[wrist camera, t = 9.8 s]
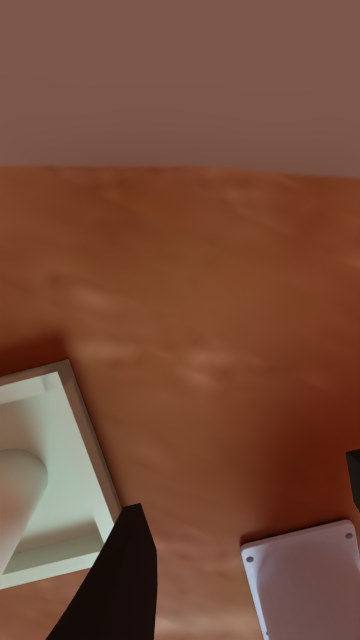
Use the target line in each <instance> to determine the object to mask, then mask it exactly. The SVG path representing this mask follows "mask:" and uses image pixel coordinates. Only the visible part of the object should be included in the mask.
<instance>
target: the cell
mask: <svg viewBox="0 0 360 640" xmlns="http://www.w3.org/2000/svg"><path fill="white" fill-rule="evenodd" d="M47 485H48V472H47V469H46V467H45V465H44V464H43V462H42V461H41V460H40V459H39V458H38V457H36V456H35V455H33V454H32V453H30V452H27V451H24V450H20V449H7V450H3V451H0V578H1V576H2V574H3V572H4V570H5V568H6V566H7V564H8V562H9V560H10V558H11V556H12V554H13V553H14V551H15V549H16V547H17V545H18V543H19V541H20V539H21V537H22V535H23V533H24V531H25V529H26V527H27V525H28V523H29V521H30V519H31V517H32V515H33V513H34V512H35V510H36V508H37V506H38V504H39V502H40V500H41V498H42V496H43V494H44V492H45V490H46V488H47Z"/></svg>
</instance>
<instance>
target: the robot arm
mask: <svg viewBox="0 0 360 640" xmlns="http://www.w3.org/2000/svg"><path fill="white" fill-rule="evenodd" d="M346 457H347V463H348V469H349V475H350V481H351V487H352V493H353V499H354V503H355V505H356V507H357V508H358V510H359V512H360V449H358V450H354V451H350V452H346ZM347 533H348V534H347ZM240 551H241V556H242V559H243V563H244V567H245V570H246V574H247V578H248V582H249V585H250V589H251V593H252V597H253V600H254V604H255V608H256V611H257V615H258V619H259V623H260V626H261V630H262V634H263V637H264V640H360V556H359V550H358V544H357V538H356V532H355V527H354V525H353V523H352V522H351V521H350V520H342V521H338V522H334V523H329V524H325V525H321V526H317V527H313V528H309V529H304V530H300V531H296V532H292V533H288V534H283V535H279V536H275V537H271V538H267V539H263V540H258V541H254V542H250V543H246V544H244V545H242V546H241V548H240ZM249 556H251V557H249ZM157 586H158V584H157V550H156V547H155V544H154V541H153V538H152V535H151V532H150V529H149V526H148V523H147V520H146V518H145V515H144V512H143V509H142V506H141V503H138V504H134V505H130V506H126V507H123V509H122V510H121V512H120V514H119V516H118V518H117V520H116V522H115V524H114V526H113V528H112V530H111V532H110V534H109V536H108V538H107V540H106V542H105V543H104V545H103V547H102V549H101V551H100V553H99V555H98V556H97V558H96V560H95V562H94V564H93V565H92V567H91V569H90V571H89V573H88V574H87V576H86V578H85V579H84V581H83V583H82V584H81V586H80V588H79V589H78V591H77V593H76V594H75V596H74V598H73V599H72V601H71V603H70V604H69V606H68V607H67V609H66V610H65V612H64V613H63V615H62V616H61V618H60V619H59V621H58V622H57V624H56V625H55V627H54V628H53V630H52V631H51V633H50V634H49V635H48V637H47V638H46V640H154V629H155V616H156V601H157Z"/></svg>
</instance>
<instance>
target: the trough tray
mask: <svg viewBox="0 0 360 640" xmlns="http://www.w3.org/2000/svg"><path fill="white" fill-rule="evenodd" d="M7 449H20V450H24V451H27V452H30V453H32V454H33V455H35V456H36V457H38V458H39V459H40V460H41V461H42V462H43V464H44V465H45V467H46V469H47V472H48V485H47V488H46V490H45V492H44V494H43V496H42V498H41V500H40V502H39V504H38V506H37V508H36V510H35V512H34V513H33V515H32V517H31V519H30V521H29V523H28V525H27V527H26V529H25V531H24V533H23V535H22V537H21V539H20V541H19V543H18V545H17V547H16V549H15V551H14V553H13V554H12V556H11V558H10V560H9V562H8V564H7V566H6V568H5V570H4V572H3V574H2V576H1V578H0V589H3V588H7V587H11V586H15V585H19V584H23V583H28V582H32V581H36V580H40V579H44V578H48V577H52V576H57V575H61V574H65V573H69V572H73V571H77V570H81V569H86V568H90V567H92V565H93V564H94V562H95V560H96V558H97V556H98V555H99V553H100V551H101V549H102V547H103V545H104V543H105V542H106V540H107V538H108V536H109V534H110V532H111V530H112V528H113V526H114V524H115V522H116V520H117V518H118V516H119V514H120V512H121V510H122V507H121V504H120V501H119V498H118V496H117V493H116V490H115V487H114V484H113V482H112V479H111V476H110V473H109V470H108V468H107V465H106V462H105V459H104V456H103V454H102V451H101V448H100V445H99V443H98V440H97V437H96V434H95V431H94V429H93V426H92V423H91V420H90V417H89V415H88V412H87V409H86V406H85V403H84V401H83V398H82V395H81V392H80V390H79V387H78V384H77V381H76V378H75V376H74V373H73V370H72V367H71V364H70V362H69V359H67V360H63V361H59V362H55V363H52V364H48V365H44V366H40V367H36V368H32V369H28V370H25V371H21V372H17V373H13V374H9V375H5V376H2V377H0V451H3V450H7Z"/></svg>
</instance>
